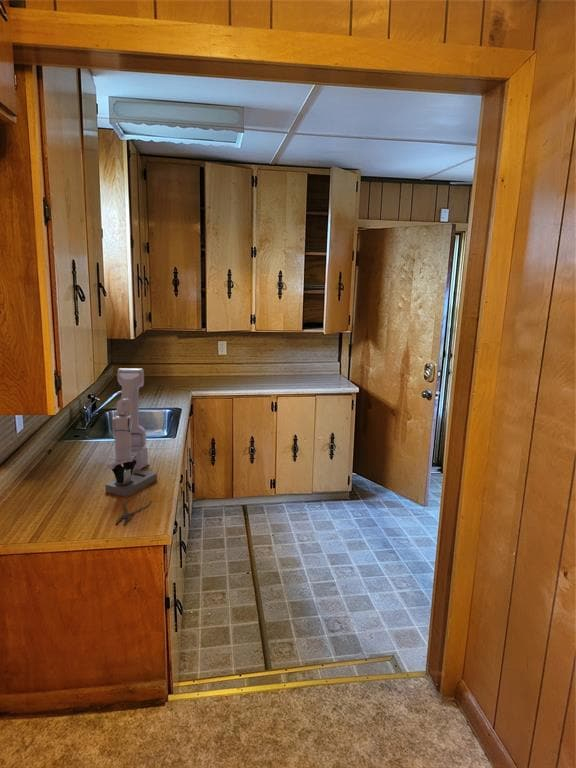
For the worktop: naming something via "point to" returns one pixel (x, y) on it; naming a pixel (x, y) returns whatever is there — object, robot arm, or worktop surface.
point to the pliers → (128, 516)
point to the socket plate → (132, 483)
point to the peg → (125, 478)
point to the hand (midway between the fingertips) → (124, 480)
